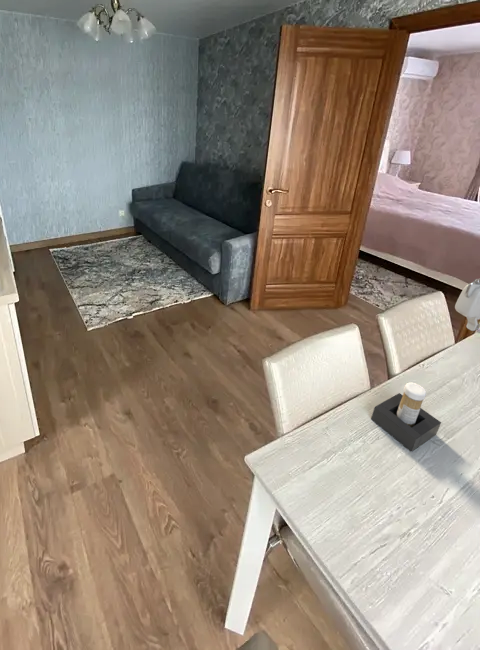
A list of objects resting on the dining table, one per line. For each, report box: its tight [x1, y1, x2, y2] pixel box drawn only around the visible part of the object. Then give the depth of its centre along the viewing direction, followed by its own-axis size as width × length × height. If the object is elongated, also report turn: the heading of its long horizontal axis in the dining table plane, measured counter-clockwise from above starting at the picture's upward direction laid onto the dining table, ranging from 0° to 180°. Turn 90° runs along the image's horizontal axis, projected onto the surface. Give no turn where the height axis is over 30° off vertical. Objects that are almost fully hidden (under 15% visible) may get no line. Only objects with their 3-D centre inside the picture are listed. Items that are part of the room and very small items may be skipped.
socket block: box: [370, 392, 442, 453], centre depth 92 cm, size 11×11×4 cm
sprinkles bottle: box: [396, 381, 427, 428], centre depth 90 cm, size 5×5×14 cm
